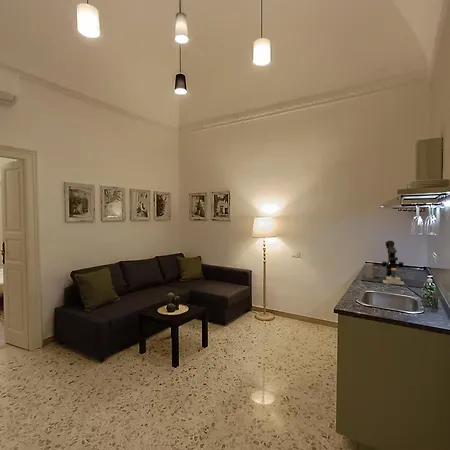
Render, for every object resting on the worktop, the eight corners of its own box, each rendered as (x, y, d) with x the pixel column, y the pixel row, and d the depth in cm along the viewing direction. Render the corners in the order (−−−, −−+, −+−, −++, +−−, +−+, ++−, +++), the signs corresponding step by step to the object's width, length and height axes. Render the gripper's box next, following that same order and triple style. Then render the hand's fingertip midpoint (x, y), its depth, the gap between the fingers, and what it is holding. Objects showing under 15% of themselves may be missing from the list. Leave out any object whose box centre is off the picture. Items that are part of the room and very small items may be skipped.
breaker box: (382, 281, 298) (382, 274, 297) (403, 282, 290) (403, 275, 290) (383, 283, 289) (383, 276, 288) (404, 285, 281) (404, 277, 281)
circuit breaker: (380, 278, 308) (380, 264, 308) (366, 278, 311) (366, 264, 310) (378, 276, 316) (378, 263, 315) (364, 276, 319) (364, 263, 318)
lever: (391, 276, 291) (391, 268, 286) (395, 276, 289) (395, 268, 284) (391, 277, 289) (391, 269, 284) (395, 277, 287) (396, 269, 282)
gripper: (382, 253, 298) (382, 266, 289) (403, 254, 290) (404, 267, 281) (381, 259, 306) (382, 272, 297) (402, 260, 298) (403, 273, 288)
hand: (393, 271), depth 290 cm, fingers closed
